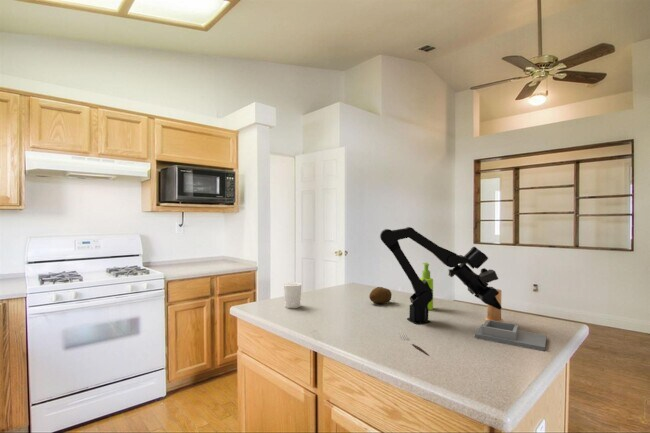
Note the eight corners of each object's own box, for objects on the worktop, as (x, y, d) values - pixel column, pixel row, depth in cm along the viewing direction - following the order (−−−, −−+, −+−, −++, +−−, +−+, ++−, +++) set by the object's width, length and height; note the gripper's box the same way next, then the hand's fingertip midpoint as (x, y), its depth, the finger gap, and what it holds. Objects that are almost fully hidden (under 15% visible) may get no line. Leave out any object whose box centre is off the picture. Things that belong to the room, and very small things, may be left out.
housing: (474, 337, 117) (474, 326, 117) (482, 327, 128) (482, 317, 128) (544, 351, 106) (544, 339, 106) (546, 338, 116) (546, 327, 116)
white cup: (280, 307, 153) (281, 285, 153) (287, 303, 161) (288, 282, 161) (297, 309, 151) (297, 286, 151) (303, 304, 158) (304, 283, 158)
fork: (425, 357, 101) (425, 351, 101) (398, 339, 116) (398, 333, 116) (432, 356, 102) (432, 349, 102) (405, 338, 117) (405, 332, 117)
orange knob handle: (494, 327, 128) (494, 292, 128) (481, 322, 134) (482, 288, 133) (506, 325, 130) (506, 291, 130) (493, 320, 136) (493, 287, 136)
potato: (395, 303, 163) (395, 286, 163) (378, 307, 155) (378, 290, 155) (382, 299, 169) (382, 284, 169) (364, 303, 161) (365, 287, 161)
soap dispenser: (430, 306, 157) (431, 262, 157) (434, 310, 151) (434, 264, 150) (417, 305, 158) (418, 262, 158) (420, 309, 151) (420, 264, 151)
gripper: (492, 266, 123) (525, 298, 122) (475, 259, 141) (504, 287, 140) (469, 287, 124) (501, 319, 123) (455, 278, 142) (483, 306, 141)
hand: (498, 306), depth 132 cm, fingers closed on orange knob handle, 5 cm apart
